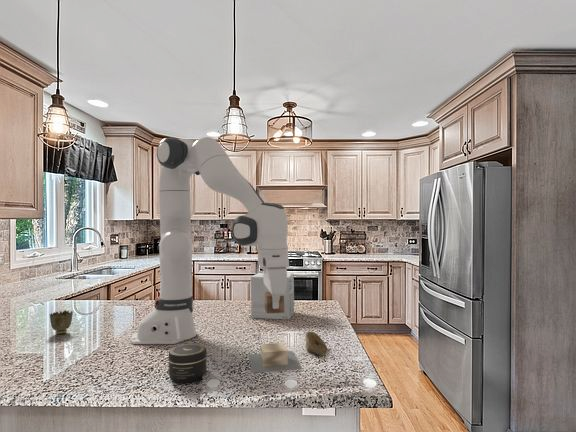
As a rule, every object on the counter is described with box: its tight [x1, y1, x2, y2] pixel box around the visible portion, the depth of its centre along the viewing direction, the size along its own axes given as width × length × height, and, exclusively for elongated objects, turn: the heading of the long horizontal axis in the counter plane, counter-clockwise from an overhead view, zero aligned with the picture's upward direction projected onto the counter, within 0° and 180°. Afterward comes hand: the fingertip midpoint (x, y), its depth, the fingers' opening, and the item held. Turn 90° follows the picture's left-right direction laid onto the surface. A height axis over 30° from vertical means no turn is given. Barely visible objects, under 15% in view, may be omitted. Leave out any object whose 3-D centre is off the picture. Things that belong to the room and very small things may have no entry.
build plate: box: [247, 350, 303, 374], centre depth 108 cm, size 14×14×1 cm
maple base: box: [260, 342, 288, 367], centre depth 108 cm, size 7×7×4 cm
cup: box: [49, 309, 73, 336], centre depth 140 cm, size 8×7×8 cm
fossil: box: [305, 331, 328, 358], centre depth 117 cm, size 9×4×10 cm
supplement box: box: [250, 272, 295, 320], centre depth 165 cm, size 17×13×18 cm
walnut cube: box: [264, 292, 284, 314], centre depth 109 cm, size 5×5×5 cm
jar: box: [167, 343, 208, 385], centre depth 100 cm, size 10×10×8 cm
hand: (273, 305), depth 109 cm, fingers closed on walnut cube, 5 cm apart
